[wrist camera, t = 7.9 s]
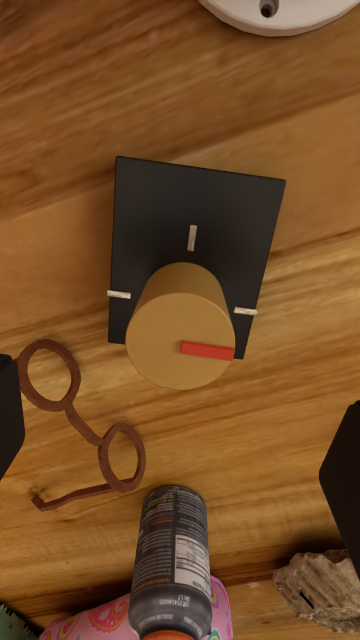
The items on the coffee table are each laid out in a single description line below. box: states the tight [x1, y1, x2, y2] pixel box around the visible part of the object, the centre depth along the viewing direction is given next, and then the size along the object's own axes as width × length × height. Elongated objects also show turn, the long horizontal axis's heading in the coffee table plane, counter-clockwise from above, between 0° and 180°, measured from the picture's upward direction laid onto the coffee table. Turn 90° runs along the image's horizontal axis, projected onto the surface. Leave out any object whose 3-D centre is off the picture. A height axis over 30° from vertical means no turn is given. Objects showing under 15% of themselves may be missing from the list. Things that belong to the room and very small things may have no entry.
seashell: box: [273, 549, 360, 634], centre depth 30 cm, size 11×7×10 cm
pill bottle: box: [128, 486, 212, 640], centre depth 25 cm, size 6×6×11 cm
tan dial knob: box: [125, 262, 235, 390], centre depth 17 cm, size 5×5×6 cm
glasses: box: [12, 339, 146, 512], centre depth 24 cm, size 13×13×5 cm
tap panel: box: [107, 156, 286, 359], centre depth 20 cm, size 12×9×2 cm
